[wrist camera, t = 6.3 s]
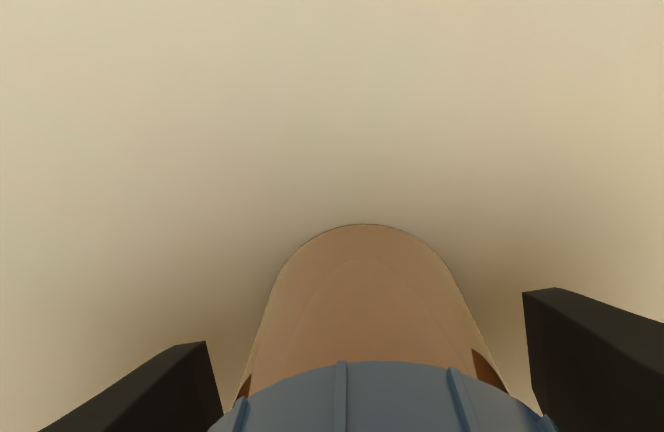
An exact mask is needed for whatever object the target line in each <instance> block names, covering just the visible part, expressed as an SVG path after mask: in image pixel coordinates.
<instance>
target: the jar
mask: <svg viewBox="0 0 664 432" xmlns="http://www.w3.org/2000/svg"><path fill="white" fill-rule="evenodd" d="M343 360H346V361H347V363H349V362H360V361H372V360H379V361H406V362H412V363H419V364H425V365H432V366H437V367H441V368H444V369H448V368H449V366H450V367H454V368H458V369H459V371H460V373H462V374H466V375H468V376H471V377H473V378H475V379H478V380H480V381H483V382H485V383H487V384H490V385H492V386H494V387H496V388H498V389H500V390H502V391H503V392H505V393H507V394H509V395H510V396H511V394H510V392H509V390H508V388H507V386H506V384H505V382H504V380H503V378H502V376H501V374H500V372H499V370H498V368H497V366H496V364H495V362H494V360H493V358H492V355H491V353H490V351H489V349H488V347H487V345H486V343H485V341H484V339H483V337H482V335H481V333H480V331H479V329H478V327H477V325H476V323H475V321H474V319H473V317H472V315H471V313H470V311H469V309H468V307H467V305H466V303H465V300H464V298H463V296H462V294H461V292H460V290H459V288H458V286H457V284H456V282H455V280H454V278H453V276H452V274H451V272H450V270H449V269H448V267H447V266H446V264H445V263H444V262H443V260H442V259H441V258H440V257H439V256H438V255H437V254H436V253H435V251H434V250H432V249H431V248H430V247H429V246H428V245H426V244H425V243H424V242H422V241H421V240H419V239H417V238H416V237H414V236H412V235H410V234H408V233H406V232H403V231H401V230H398V229H395V228H391V227H387V226H381V225H373V224H358V225H348V226H344V227H339V228H335V229H333V230H330V231H327V232H324V233H322V234H320V235H318V236H316V237H314V238H313V239H311V240H310V241H308V242H307V243H305V244H304V245H302V246H301V247H300V248H299V249H298V250H297V251H296V252H295V253H294V254H293V255H292V256H291V257H290V258H289V259H288V261H287V262H286V263H285V265H284V266H283V268H282V269H281V271H280V272H279V274H278V276H277V279H276V281H275V283H274V286H273V289H272V291H271V294H270V297H269V300H268V303H267V306H266V309H265V312H264V315H263V318H262V321H261V324H260V327H259V330H258V332H257V335H256V338H255V341H254V344H253V347H252V350H251V353H250V356H249V359H248V362H247V365H246V368H245V370H244V373H243V376H242V379H241V382H240V385H239V388H238V391H237V394H236V397H235V400H234V403H233V406H232V408H233V407H234V405H235V402H236V400H237V399H239V398H241V397H242V396H244V397H245V398H246V399H247V398H249V397H250V396H252V395H253V394H255V393H256V392H258V391H260V390H262V389H264V388H266V387H268V386H270V385H273V384H275V383H277V382H279V381H281V380H283V379H285V378H288V377H291V376H294V375H297V374H300V373H303V372H306V371H309V370H312V369H316V368H321V367H326V366H331V365H336V362H337V361H343Z"/></svg>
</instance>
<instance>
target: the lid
mask: <svg viewBox="0 0 664 432" xmlns="http://www.w3.org/2000/svg"><path fill="white" fill-rule="evenodd" d="M207 432H559V430H558V428H557V427H556V425H555V423H554V422H553V420H552V419H551V418H550V417H549V416H548V415H547V414H545V415H544V416H543V417H540V416H539V415H538V414H536V413H535V412H534V411H532V410H531V409H530V408H529V407H527V406H526V405H525V404H523V403H522V402H521V401H519V400H517V399H515V398H514V397H512V396H510V395H509V394H507V393H505V392H503V391H502V390H500V389H498V388H496V387H494V386H492V385H490V384H487V383H485V382H483V381H480V380H478V379H475V378H473V377H471V376H468V375H466V374H462V373H460V371H459V369H458V368H454V367H450V366H449V368H448V369H444V368H441V367H437V366H432V365H425V364H419V363H412V362H406V361H379V360H372V361H360V362H349V363H347V361H346V360H343V361H337V362H336V365H331V366H326V367H321V368H316V369H312V370H309V371H306V372H303V373H300V374H297V375H294V376H291V377H288V378H285V379H283V380H281V381H279V382H277V383H275V384H273V385H270V386H268V387H266V388H264V389H262V390H260V391H258V392H256V393H255V394H253V395H252V396H250V397H249V398H247V399H246V398H245V397H244V396H242V397H241V398H239V399H237V400H236V402H235V405H234V407H233V408H232V409H231V410H230V411H229V412H227V413H226V414H225V415H224V416H223V417H222V418H220V419H219V420H218V421H217V422H216V423H215V424H214V425H212V426H211V427H210V428H209V430H208V431H207Z"/></svg>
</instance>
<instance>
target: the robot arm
mask: <svg viewBox="0 0 664 432" xmlns="http://www.w3.org/2000/svg"><path fill="white" fill-rule="evenodd" d="M522 297H523V307H524V317H525V326H526V336H527V345H528V355H529V365H530V374H531V384H532V389H533V392H534V394H535V397H536V399H537V401H538V404H539V406H540V409H541V411H542V413H543V416H544V415H545V414H547V415H548V416H549V417H550V418H551V419H552V420H553V422H554V423H555V425H556V427H557V428H558V430H559V432H664V323H661V322H658V321H654V320H651V319H648V318H645V317H642V316H639V315H636V314H633V313H630V312H628V311H625V310H622V309H619V308H616V307H613V306H611V305H608V304H605V303H602V302H600V301H597V300H594V299H591V298H589V297H586V296H583V295H580V294H577V293H574V292H571V291H568V290H564V289H560V288H555V287H554V288H548V289H541V290H534V291H528V292H522ZM223 416H224V413H223V409H222V405H221V401H220V397H219V393H218V390H217V386H216V382H215V378H214V374H213V370H212V366H211V362H210V358H209V354H208V350H207V346H206V342H205V341H201V342H195V343H188V344H182V345H175V346H173V347H171V348H169V349H167V350H165V351H163V352H161V353H160V354H158V355H156V356H155V357H153V358H152V359H150V360H149V361H147V362H146V363H144V364H143V365H141V366H140V367H138V368H137V369H135V370H134V371H132V372H131V373H129V374H128V375H126V376H125V377H123V378H122V379H120V380H119V381H118V382H116V383H115V384H113V385H112V386H110V387H109V388H107V389H106V390H104V391H103V392H101V393H100V394H98V395H97V396H95V397H93V398H92V399H90V400H89V401H87V402H86V403H84V404H82V405H81V406H79V407H78V408H76V409H75V410H73V411H71V412H70V413H68V414H67V415H65V416H63V417H62V418H60V419H59V420H57V421H55V422H54V423H52V424H50V425H49V426H47V427H45V428H43V429H42V430H40V431H38V432H207V431H208V430H209V428H210V427H211V426H212V425H214V424H215V423H216V422H217V421H218V420H219V419H220V418H222V417H223Z"/></svg>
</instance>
